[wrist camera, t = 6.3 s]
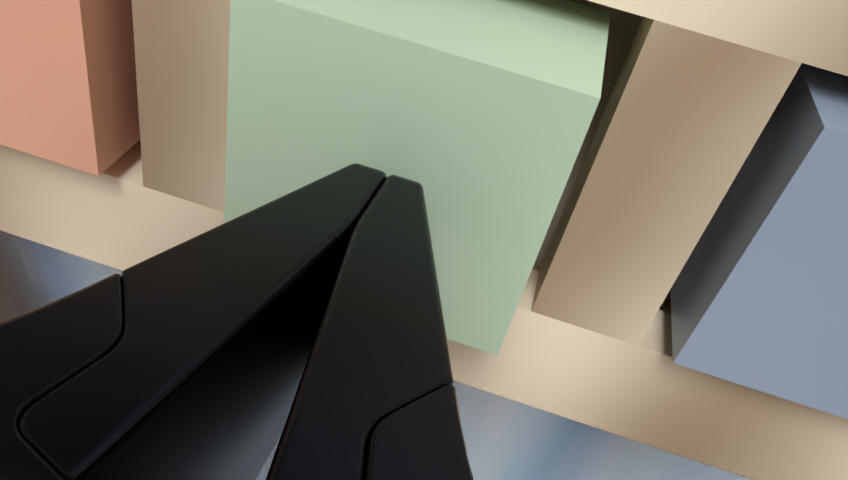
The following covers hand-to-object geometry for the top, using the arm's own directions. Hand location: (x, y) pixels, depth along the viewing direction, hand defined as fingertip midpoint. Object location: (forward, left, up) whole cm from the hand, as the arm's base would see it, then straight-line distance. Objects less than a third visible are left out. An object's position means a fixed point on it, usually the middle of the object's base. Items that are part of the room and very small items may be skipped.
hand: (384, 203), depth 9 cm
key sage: (0, 0, -3) cm, 3 cm away
